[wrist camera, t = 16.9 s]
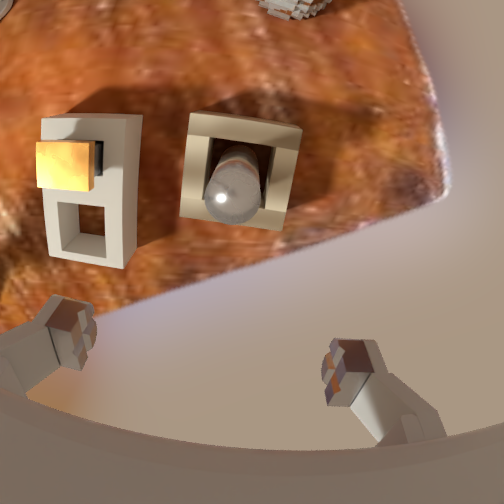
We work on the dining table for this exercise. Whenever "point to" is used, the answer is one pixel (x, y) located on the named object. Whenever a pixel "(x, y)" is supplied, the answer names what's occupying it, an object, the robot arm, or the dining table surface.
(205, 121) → the beige square holder
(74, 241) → the socket block
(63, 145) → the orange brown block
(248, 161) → the grey metallic cylinder
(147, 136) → the dining table surface
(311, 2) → the decorative ornament
